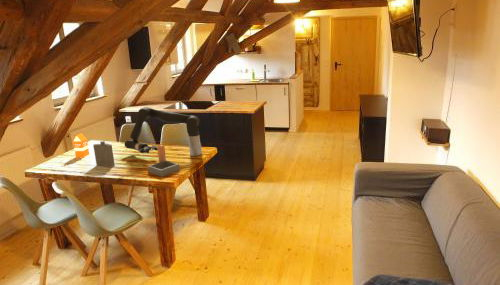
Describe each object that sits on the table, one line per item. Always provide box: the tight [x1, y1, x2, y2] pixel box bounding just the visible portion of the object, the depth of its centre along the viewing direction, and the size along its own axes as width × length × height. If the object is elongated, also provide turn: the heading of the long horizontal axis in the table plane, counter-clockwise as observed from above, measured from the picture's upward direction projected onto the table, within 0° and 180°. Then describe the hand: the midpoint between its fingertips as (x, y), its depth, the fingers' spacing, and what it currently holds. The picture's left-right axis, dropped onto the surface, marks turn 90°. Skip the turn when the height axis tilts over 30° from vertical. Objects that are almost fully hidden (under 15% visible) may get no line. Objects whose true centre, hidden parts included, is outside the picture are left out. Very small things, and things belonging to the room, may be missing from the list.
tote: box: [147, 159, 180, 178], centre depth 275 cm, size 16×16×5 cm
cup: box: [156, 144, 167, 163], centre depth 291 cm, size 6×6×15 cm
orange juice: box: [72, 132, 90, 158], centre depth 319 cm, size 8×9×20 cm
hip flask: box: [92, 140, 115, 168], centre depth 292 cm, size 16×4×20 cm, turn 76°
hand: (153, 150), depth 297 cm, fingers open, 8 cm apart
